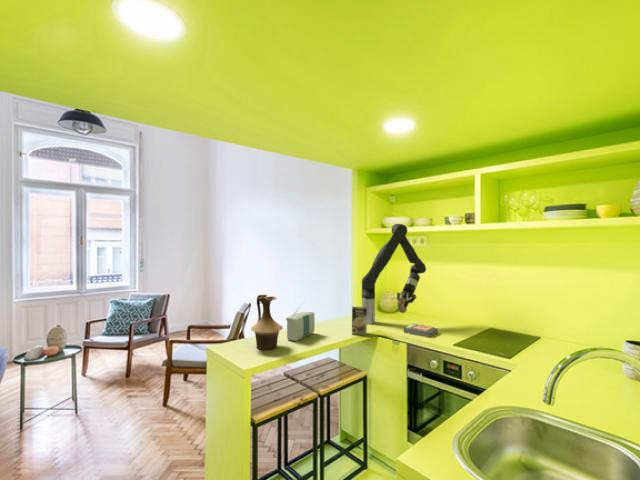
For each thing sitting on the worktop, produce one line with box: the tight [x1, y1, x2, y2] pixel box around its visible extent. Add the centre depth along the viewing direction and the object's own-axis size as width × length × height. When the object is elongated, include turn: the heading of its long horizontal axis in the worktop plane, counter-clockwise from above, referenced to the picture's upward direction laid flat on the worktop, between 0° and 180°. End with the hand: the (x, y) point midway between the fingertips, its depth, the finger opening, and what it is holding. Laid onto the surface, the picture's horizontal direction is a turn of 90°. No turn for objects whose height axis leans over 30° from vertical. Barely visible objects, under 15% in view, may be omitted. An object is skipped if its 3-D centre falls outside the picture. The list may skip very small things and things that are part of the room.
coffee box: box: [351, 306, 368, 336], centre depth 197 cm, size 9×6×16 cm
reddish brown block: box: [397, 298, 408, 314], centre depth 212 cm, size 4×4×9 cm
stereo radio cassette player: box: [285, 302, 316, 342], centre depth 191 cm, size 21×8×20 cm, turn 152°
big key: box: [413, 324, 435, 332], centre depth 198 cm, size 9×11×2 cm
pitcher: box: [250, 294, 284, 351], centre depth 171 cm, size 18×17×28 cm
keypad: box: [403, 322, 438, 338], centre depth 199 cm, size 16×13×4 cm
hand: (401, 306), depth 211 cm, fingers closed on reddish brown block, 4 cm apart
